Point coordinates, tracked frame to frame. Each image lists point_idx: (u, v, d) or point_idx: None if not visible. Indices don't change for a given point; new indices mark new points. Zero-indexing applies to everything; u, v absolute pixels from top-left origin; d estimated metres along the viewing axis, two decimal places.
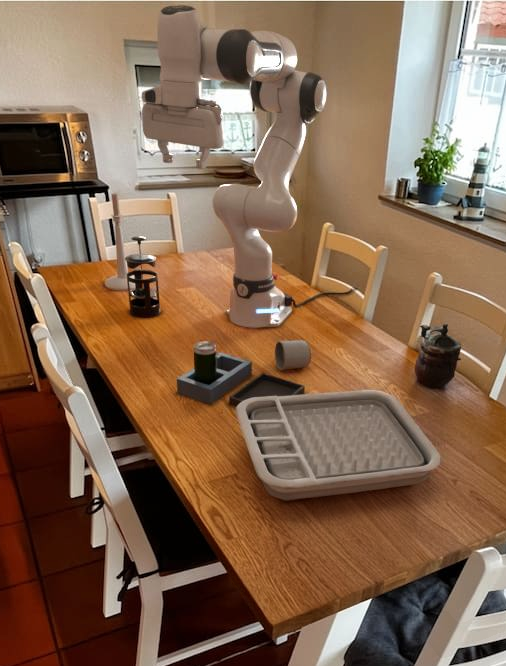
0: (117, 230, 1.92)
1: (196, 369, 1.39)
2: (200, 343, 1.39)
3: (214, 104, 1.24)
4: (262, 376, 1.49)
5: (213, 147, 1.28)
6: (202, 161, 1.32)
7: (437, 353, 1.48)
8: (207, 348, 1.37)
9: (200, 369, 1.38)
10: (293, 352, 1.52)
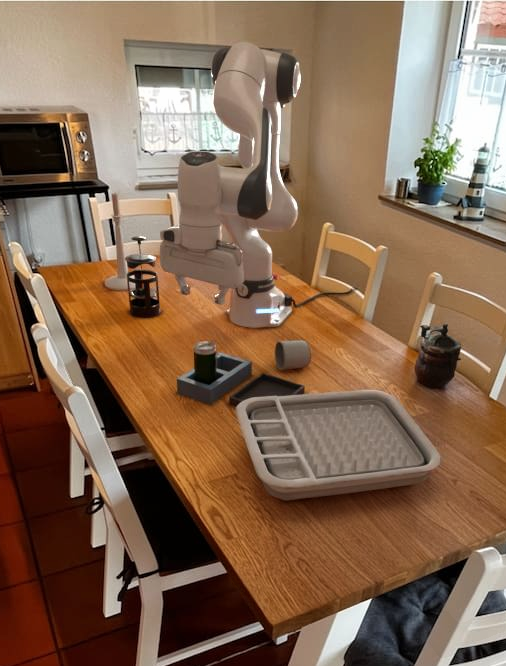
0: (117, 230, 1.92)
1: (196, 369, 1.39)
2: (200, 343, 1.39)
3: (234, 247, 1.22)
4: (262, 376, 1.49)
5: (233, 287, 1.25)
6: (221, 297, 1.29)
7: (437, 353, 1.48)
8: (207, 348, 1.37)
9: (200, 369, 1.38)
10: (293, 352, 1.52)
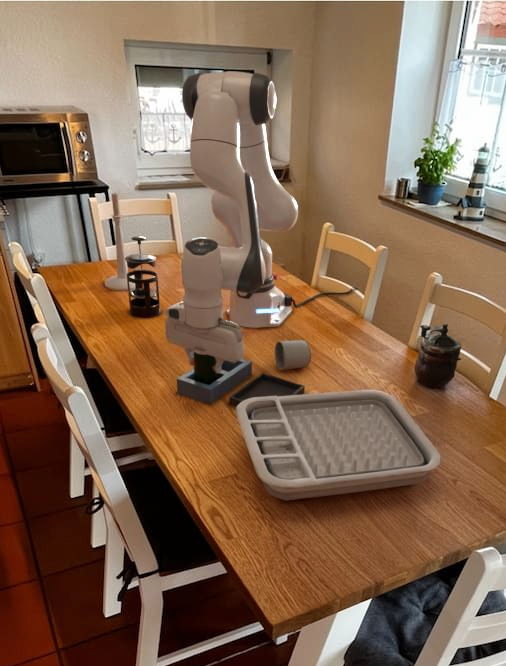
0: (117, 230, 1.92)
1: (196, 369, 1.39)
2: None
3: (235, 326, 1.30)
4: (262, 376, 1.49)
5: (234, 361, 1.34)
6: (218, 367, 1.38)
7: (437, 353, 1.48)
8: None
9: (200, 369, 1.38)
10: (293, 352, 1.52)
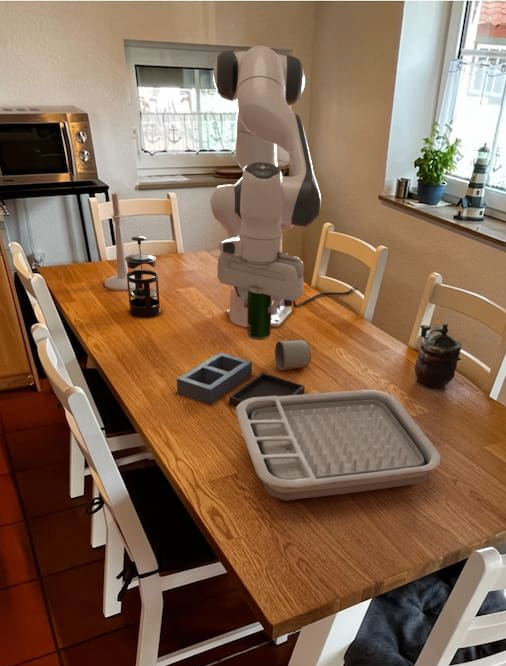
0: (117, 230, 1.92)
1: (250, 310, 1.29)
2: None
3: (296, 260, 1.21)
4: (262, 376, 1.49)
5: (293, 300, 1.24)
6: (274, 308, 1.29)
7: (437, 353, 1.48)
8: None
9: (255, 310, 1.28)
10: (293, 352, 1.52)
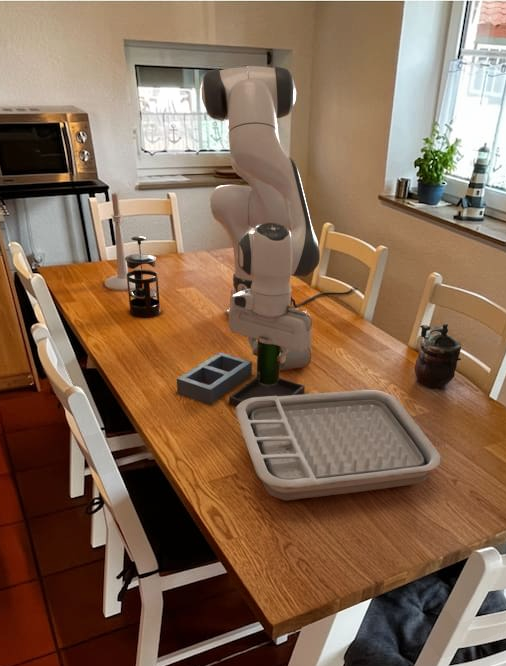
0: (117, 230, 1.92)
1: (260, 359, 1.35)
2: None
3: (305, 314, 1.27)
4: None
5: (301, 351, 1.30)
6: (283, 357, 1.34)
7: (437, 353, 1.48)
8: None
9: (264, 359, 1.34)
10: (293, 352, 1.52)
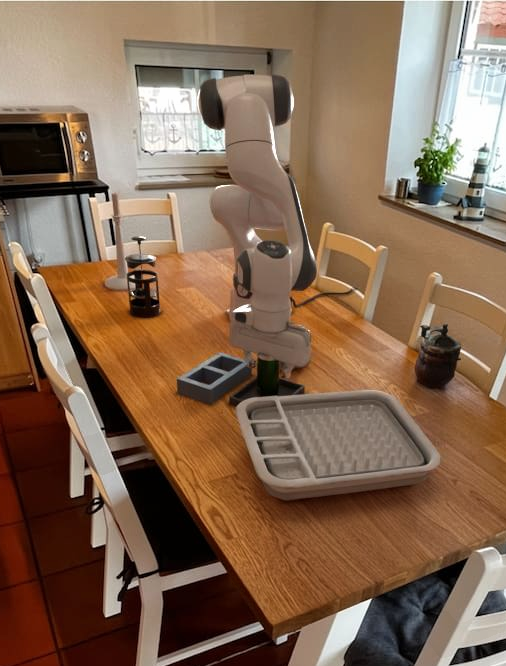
0: (117, 230, 1.92)
1: (259, 375, 1.37)
2: None
3: (304, 330, 1.29)
4: None
5: (301, 366, 1.32)
6: (288, 373, 1.36)
7: (437, 353, 1.48)
8: None
9: (264, 375, 1.37)
10: None
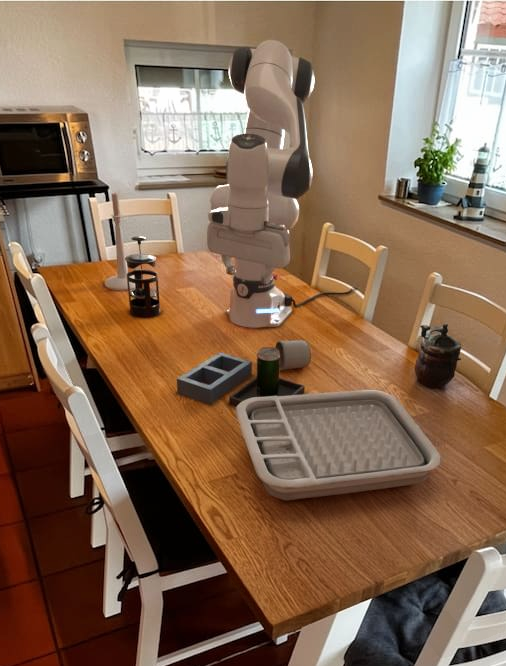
0: (117, 230, 1.92)
1: (259, 375, 1.37)
2: (263, 349, 1.37)
3: (282, 228, 1.26)
4: None
5: (280, 267, 1.29)
6: (267, 277, 1.33)
7: (437, 353, 1.48)
8: (271, 354, 1.35)
9: (264, 375, 1.37)
10: (293, 352, 1.52)
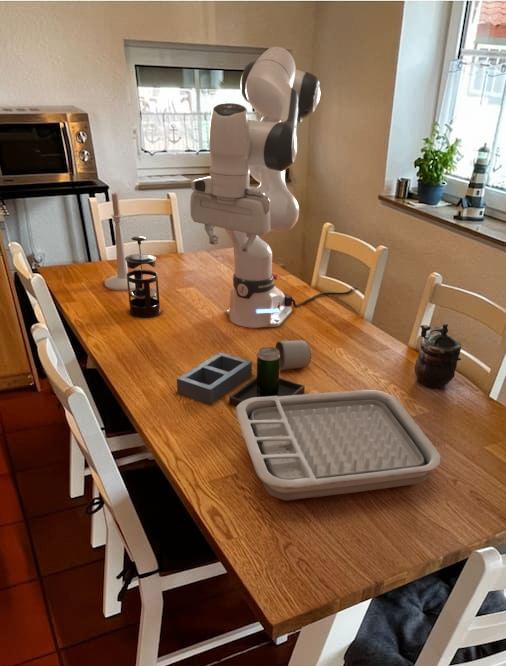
0: (117, 230, 1.92)
1: (259, 375, 1.37)
2: (263, 349, 1.37)
3: (262, 195, 1.30)
4: None
5: (260, 234, 1.33)
6: (248, 245, 1.37)
7: (437, 353, 1.48)
8: (271, 354, 1.35)
9: (264, 375, 1.37)
10: (293, 352, 1.52)
